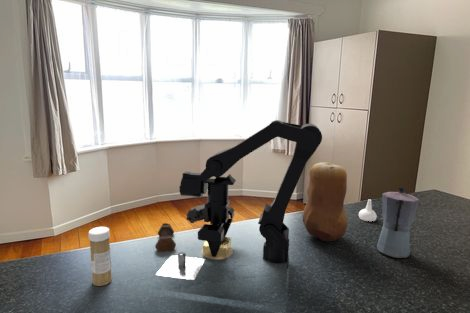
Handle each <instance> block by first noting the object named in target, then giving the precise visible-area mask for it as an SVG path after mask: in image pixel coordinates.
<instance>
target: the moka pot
mask: <svg viewBox="0 0 470 313" xmlns="http://www.w3.org/2000/svg"><path fill="white" fill-rule="evenodd" d="M405 189H406V188H405V187H403V186H399V187H398V191H387V192H383V193H382V194H381V198H382V200H381V202H382V205H381V206H382V208H381V210H382V212H381V213H382V219H383V221H382V222H383V225H382V229H381V231H380V235H379V237H378V238H379V239H378V241H377V245H376V250H377V251H378V252H380V253H382V254H384V255H385V256H388V257H392V258H397V259H403V258H404V259H406V258H408V257H410V253H411V252H410V246H411V245H410V242H411V241H410V240H411V239H410V236H411V235H410V230H411V225H412V224H413V222H414V219H415V217H416V216H415V215H416V213H417V210H418V206H419V204H420V199H419V198H417V197H416V196H414V195H411V194H408V193H406V192H404V191H405Z"/></svg>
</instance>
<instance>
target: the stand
mask: <svg viewBox="0 0 470 313" xmlns="http://www.w3.org/2000/svg"><path fill="white" fill-rule="evenodd" d="M233 253H234V250H233V248H232V247H231V248H230V250H229V253H228V255H227V257H226V258H220V257H211V256H204V257H205V258H207V259H211V260H224V259H227V258H229V257H231V256H232V255H233ZM201 254H202V255H203V248H202V249H201Z"/></svg>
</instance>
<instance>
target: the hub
mask: <svg viewBox="0 0 470 313" xmlns="http://www.w3.org/2000/svg"><path fill="white" fill-rule="evenodd" d="M205 262H206V259H205V258H200V257H191V256H187V255H186V252H183V251H182V252H178V254H177V255H173V254H171V255H170V256H169V257H168V259H167V260H165V262H164V264H163V265H162V266H161V267H160V268H159V270H158V271H157V272H156V274H155V276H161V277H168V278H175V279H182V280H190V281H195V280H196V277H197V276H198V275H199V272H200V270H201V269H202V268H203V264H204V263H205Z"/></svg>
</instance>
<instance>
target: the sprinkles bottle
mask: <svg viewBox="0 0 470 313" xmlns="http://www.w3.org/2000/svg"><path fill="white" fill-rule="evenodd" d="M110 234H111V233H110V228H109V227H107V226H97V227H93V228H91V229H90V230H89V231H88V240H89V246H90V263H91V264H90V266H91V268H90V269H91V275H92V285H93V286H95V287H101V286H106V285H108V284H110V283H111V282H112V280H113V275H112V256H111V247H110V246H111V245H110V244H111V243H110V237H111V235H110Z"/></svg>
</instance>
